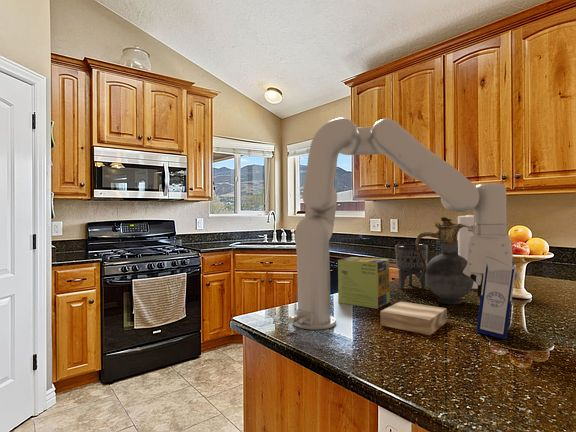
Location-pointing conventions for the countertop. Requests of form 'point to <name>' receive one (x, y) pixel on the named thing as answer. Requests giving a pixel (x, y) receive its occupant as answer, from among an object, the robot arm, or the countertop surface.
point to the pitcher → (446, 265)
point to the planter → (410, 263)
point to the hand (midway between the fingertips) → (490, 300)
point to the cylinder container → (465, 238)
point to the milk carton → (496, 298)
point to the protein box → (363, 282)
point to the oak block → (414, 317)
